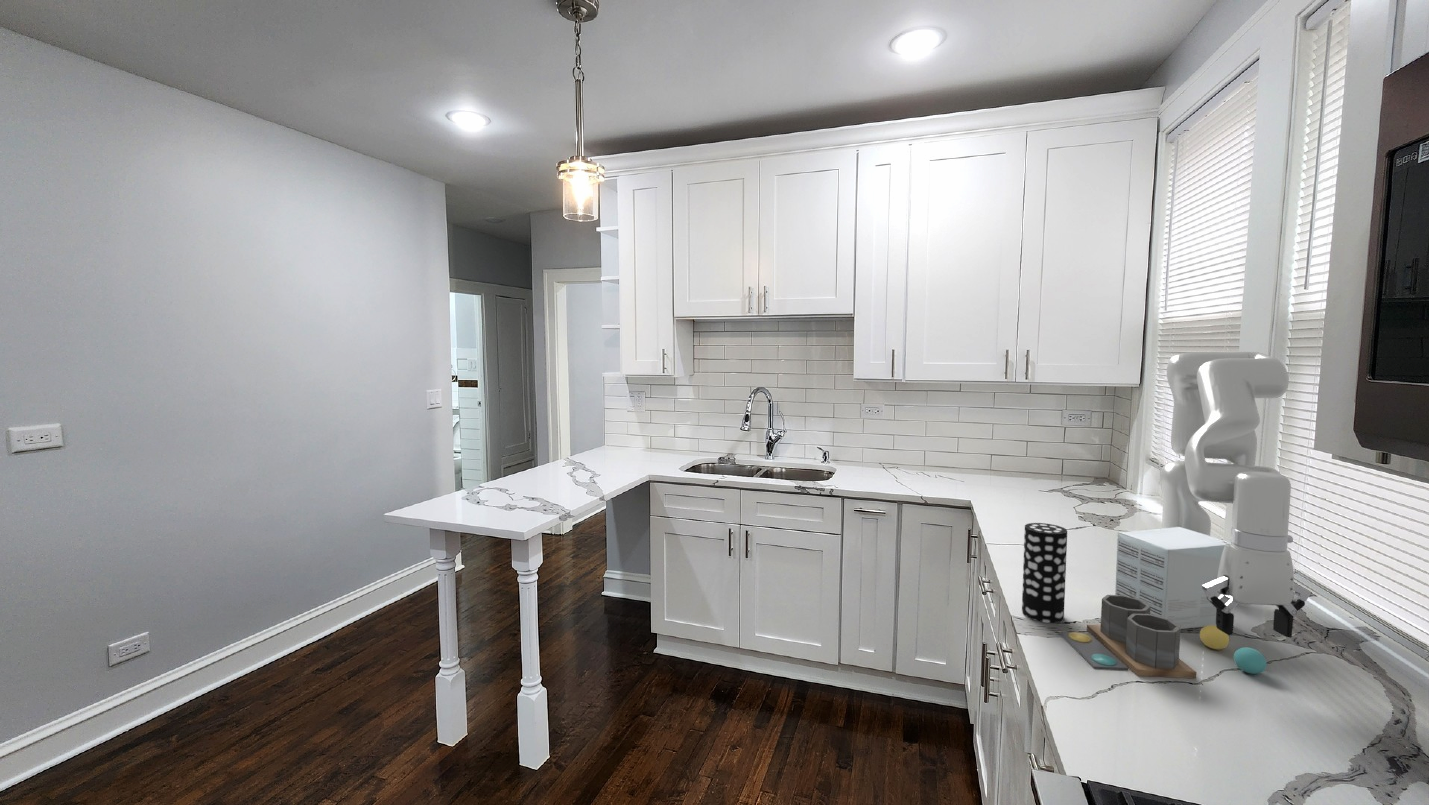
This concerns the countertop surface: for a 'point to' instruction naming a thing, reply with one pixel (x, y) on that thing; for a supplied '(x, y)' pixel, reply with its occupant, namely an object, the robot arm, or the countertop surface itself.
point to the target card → (1093, 651)
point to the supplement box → (1170, 572)
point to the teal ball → (1250, 660)
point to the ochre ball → (1214, 637)
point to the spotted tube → (1044, 572)
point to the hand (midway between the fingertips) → (1253, 632)
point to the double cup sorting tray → (1140, 638)
